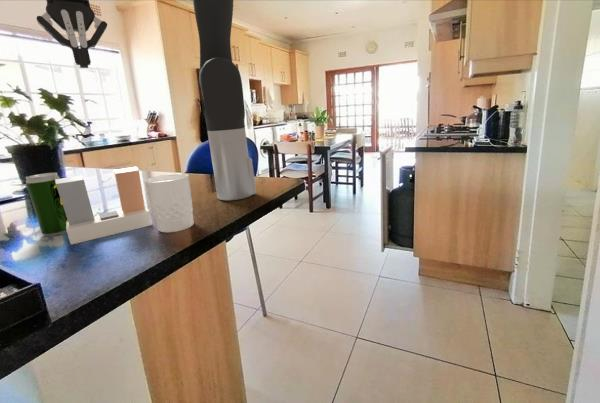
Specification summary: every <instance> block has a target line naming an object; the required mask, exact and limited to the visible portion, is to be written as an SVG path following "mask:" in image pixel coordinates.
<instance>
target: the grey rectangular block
mask: <svg viewBox="0 0 600 403" xmlns="http://www.w3.org/2000/svg"><path fill="white" fill-rule="evenodd" d="M55 182H56V186H57V189H58V192H59V195H60V198H61V201H62V204H63V207H64V210H65V213H66V216H67V219H68V222H69V225H73V224H78V223H83V222H87V221H92V220H95V219H94V213H93V209H92V206H91V201H90V198H89V194H88V190H87V187H86V183H85V180H84V175H77V176H69V177H64V178H60V179H55Z"/></svg>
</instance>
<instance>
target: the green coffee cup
mask: <svg viewBox="0 0 600 403" xmlns="http://www.w3.org/2000/svg"><path fill="white" fill-rule="evenodd" d="M25 179H26V180H25V184H26V188H27V191H28V194H29V197H30V199H31V200H30V201H31V203H32V206H33V211H34V212H35V216H36V218H37V223H38V225H39V228H40V232H41V234H42V235H43V236H44V237H48V238H50V237H52V238H53V237H57V236H58V237H59V236H63V235H65V234H67V230H66V224H67V222H68V219H67V216H66V213H65V210H64V207H63V204H62V201H61V198H60V195H59V192H58V189H57V186H56V182H55V179H61V177H60V176H59V175H58V172H46V173H39V174H33V175H29V176H25Z"/></svg>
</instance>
